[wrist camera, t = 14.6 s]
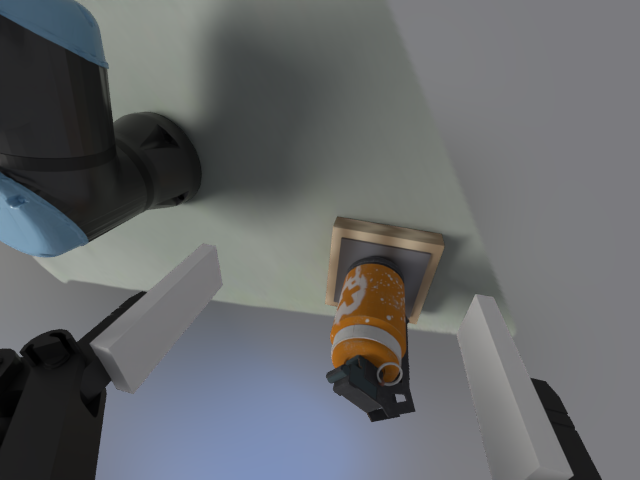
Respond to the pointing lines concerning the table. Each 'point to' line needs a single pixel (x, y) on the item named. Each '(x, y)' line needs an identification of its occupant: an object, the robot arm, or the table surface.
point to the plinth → (385, 257)
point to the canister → (372, 340)
